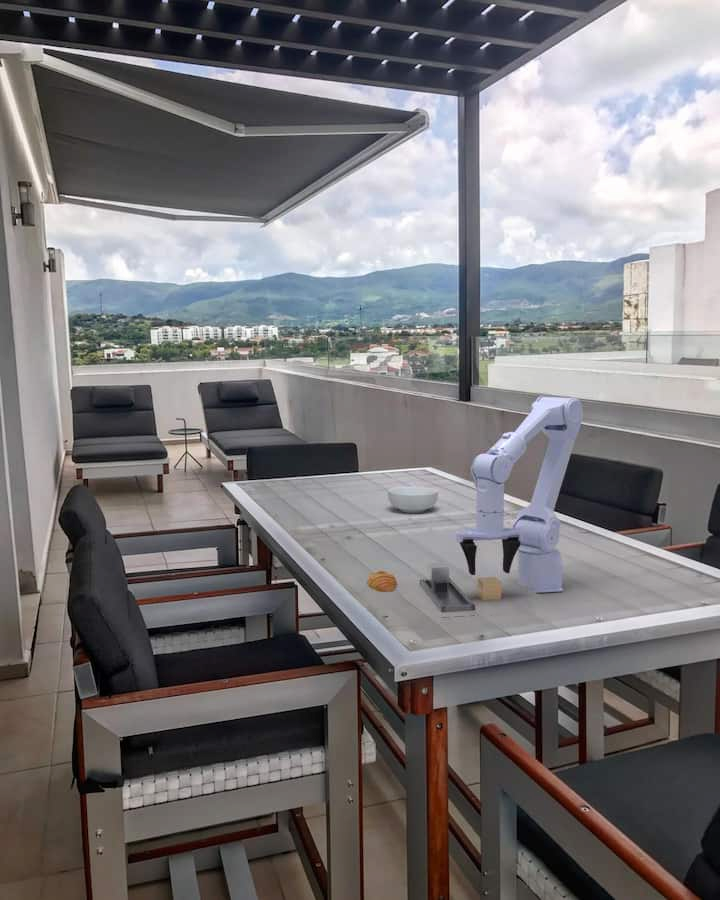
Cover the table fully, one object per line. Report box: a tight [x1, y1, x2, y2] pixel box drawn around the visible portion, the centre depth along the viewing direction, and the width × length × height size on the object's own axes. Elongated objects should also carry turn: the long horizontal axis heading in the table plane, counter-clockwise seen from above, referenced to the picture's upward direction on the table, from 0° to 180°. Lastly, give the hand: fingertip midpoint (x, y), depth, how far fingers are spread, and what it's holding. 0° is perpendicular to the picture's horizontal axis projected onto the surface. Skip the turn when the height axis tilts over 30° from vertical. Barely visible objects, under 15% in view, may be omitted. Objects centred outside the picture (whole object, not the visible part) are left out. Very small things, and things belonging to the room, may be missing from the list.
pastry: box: [366, 570, 398, 593], centre depth 184 cm, size 9×7×4 cm
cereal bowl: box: [387, 485, 439, 514], centre depth 274 cm, size 17×17×7 cm
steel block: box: [426, 562, 450, 592], centre depth 182 cm, size 4×6×5 cm
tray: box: [419, 577, 476, 619], centre depth 176 cm, size 7×20×2 cm, turn 9°
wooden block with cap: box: [477, 576, 502, 601], centre depth 176 cm, size 4×6×5 cm
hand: (489, 572), depth 175 cm, fingers open, 7 cm apart
